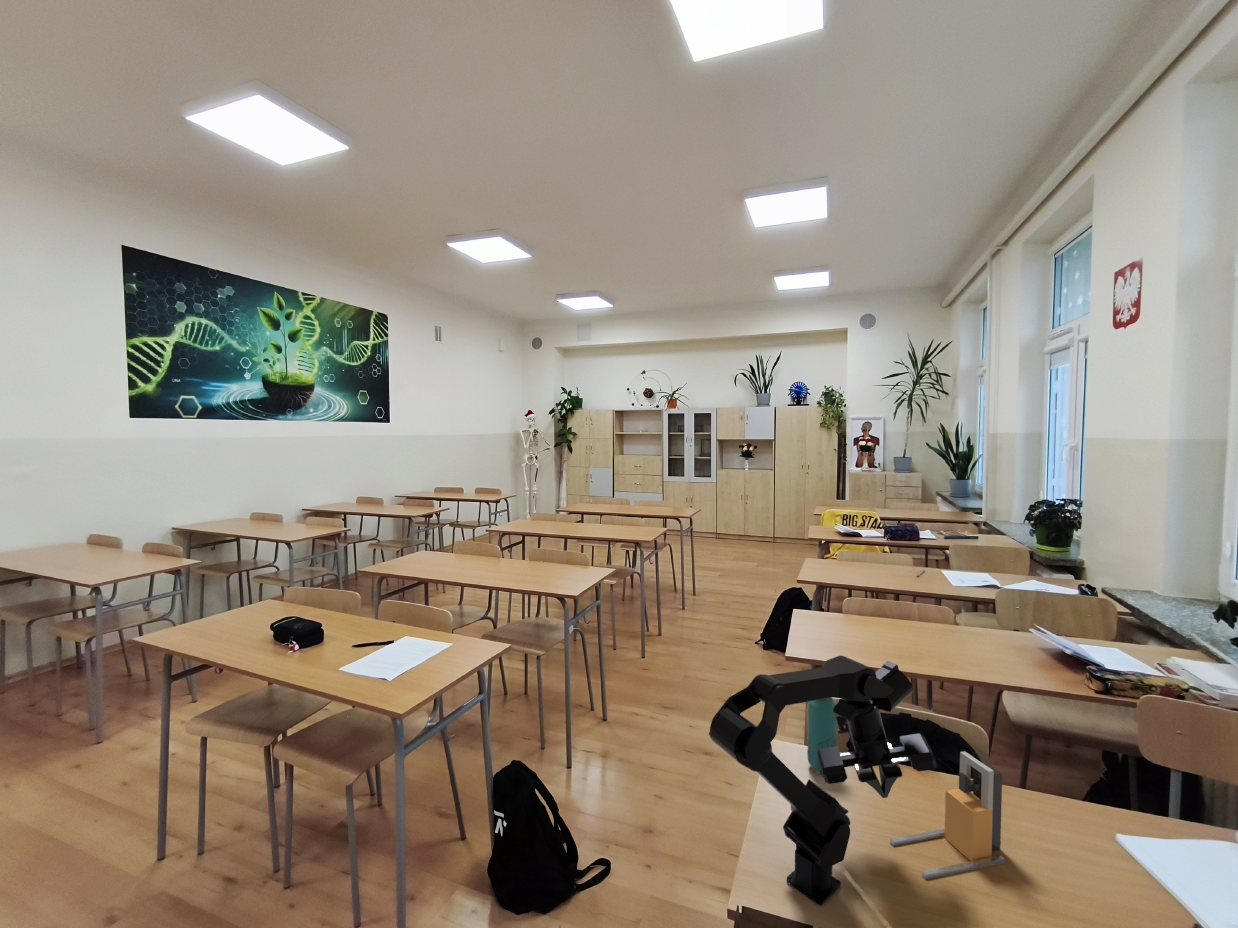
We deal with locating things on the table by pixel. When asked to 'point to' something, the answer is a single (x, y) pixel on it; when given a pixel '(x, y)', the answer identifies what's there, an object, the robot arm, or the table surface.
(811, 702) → the beverage bottle
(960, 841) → the orange padlock
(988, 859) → the grey stand with block
